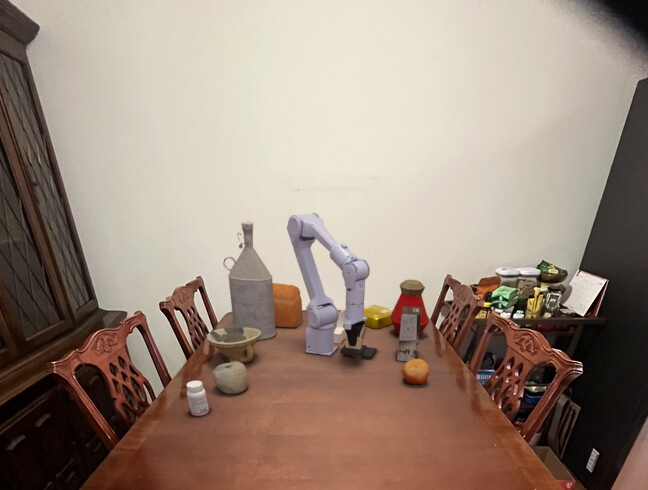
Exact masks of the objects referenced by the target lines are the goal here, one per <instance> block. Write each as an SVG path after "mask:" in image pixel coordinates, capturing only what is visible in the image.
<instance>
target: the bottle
mask: <svg viewBox="0 0 648 490" xmlns="http://www.w3.org/2000/svg"><path fill="white" fill-rule="evenodd" d="M399 289H400V291H401V293H400V295H399V296H398V299H397V301H396V302H395V305H394V307H393V309H392V310H393V312H392V314H391V316H390V318H391V321H392V323H393V324H392V326H393V328H394V331H395V334H396V335H397V336H399V335H400V325H401V315H402V308H403V306H404V307H421V308H422V315H421V323H420V332H419V337H420V336H421V335H422V333H423V332H424V330H425V329H426V327H427V326H428V324H429V323H430V320H429V317H428V313H427V309H426V306H425V303H424V299H423V296H422V294H423V293H424V291H425V289H426V286H425V285H424V284H423V283H422V282H421V281H420V280H418V279H405V280H403V281H402V282H401V283H400V284H399Z"/></svg>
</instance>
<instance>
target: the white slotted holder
mask: <svg viewBox="0 0 648 490" xmlns="http://www.w3.org/2000/svg"><path fill="white" fill-rule="evenodd" d="M345 313H346V306H345V307H343V308H342V309H340V311H339V318H338V320H337V322H336V327H335V328H334V344H342V342H343V340H346V337H347V334H346V331H345V330H344V328H343V324H344V323H345ZM364 325H365V324H364ZM364 325H363V327H362V330H361V333H360V337H362V338H363V334H364V332H365V326H364Z"/></svg>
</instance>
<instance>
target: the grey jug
mask: <svg viewBox="0 0 648 490" xmlns="http://www.w3.org/2000/svg"><path fill="white" fill-rule="evenodd" d="M240 225H241V230H242V232H243V234H242V233H240V232H237V233H236V235H237V239H238V241H239V242H240V243H239V245H238V248H239V249H242V251H241V252H240V254H239V256H238V257H237V259H235V258H234V257H233V256H226V257H225V258H224V260H223V263H222V266H224V269H226V270H228V272H229V273H228V274H227V275H228V276H227V277H228V287H229V295H230V303H231V313H232V320H233V327H246V328H254V329H258V330H260V331H261V336H260V338H258V340H257V341H262V340H267V339H271V338H273V337H275V336H276V334H277V332H276V327H275V314H274V298H273V283H274V282H273V275H272V274H271V272H270V271H269V269H268V267H267V266H266V264H265V263H264V262H263V260H262V258H261V257H260V255H259V254H258V252H257V250H256V249H255V247H254V222H253V221H250V220H245V221H242V222H241V223H240ZM239 235H240V236H242V238H243V241H244V242H241V239H240V237H239ZM243 244H244V246H243ZM228 259H230V260H232V261H233V263H234V264H233V265H232V267H231V268H228V266H226V264H225V262H226V260H228Z"/></svg>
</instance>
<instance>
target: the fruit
mask: <svg viewBox="0 0 648 490" xmlns="http://www.w3.org/2000/svg"><path fill="white" fill-rule="evenodd" d="M401 373H402V376H403V378H404V380H405V381H406V383H407V384H410V385H423V384H425V383H426V382H427V380H428V378H429V376H430V375H429V374H430V366H429V363H427V362H426V361H425V360H424V359H423V358H416V359H412V360H409V361H405V362H404V364H403V366H402V368H401Z"/></svg>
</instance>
